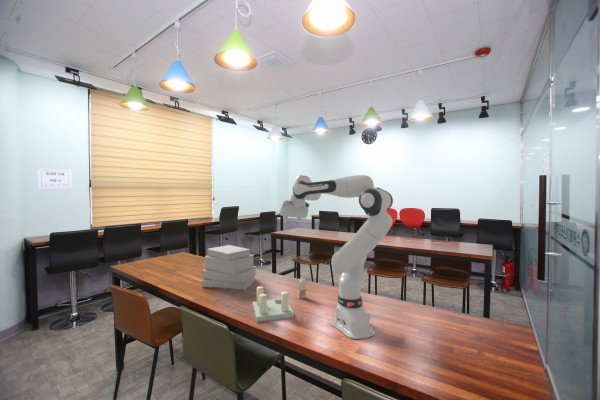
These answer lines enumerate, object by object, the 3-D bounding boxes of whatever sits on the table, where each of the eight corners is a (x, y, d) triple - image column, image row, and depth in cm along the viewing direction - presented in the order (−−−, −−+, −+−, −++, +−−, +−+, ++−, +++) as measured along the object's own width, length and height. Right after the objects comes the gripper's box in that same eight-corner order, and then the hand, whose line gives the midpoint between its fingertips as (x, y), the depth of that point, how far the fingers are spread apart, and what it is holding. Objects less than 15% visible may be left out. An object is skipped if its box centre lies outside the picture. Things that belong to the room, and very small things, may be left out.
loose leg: (306, 298, 168) (306, 279, 168) (300, 299, 167) (300, 280, 166) (304, 296, 172) (304, 277, 171) (298, 297, 171) (298, 278, 170)
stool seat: (293, 317, 143) (293, 295, 143) (256, 321, 137) (256, 299, 137) (285, 302, 162) (285, 282, 162) (252, 306, 157) (252, 286, 156)
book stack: (245, 292, 179) (244, 254, 178) (197, 289, 185) (196, 252, 184) (259, 278, 209) (259, 245, 208) (217, 275, 214) (217, 244, 214)
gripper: (287, 201, 149) (281, 224, 150) (311, 205, 163) (305, 226, 164) (280, 198, 153) (274, 221, 154) (304, 202, 168) (299, 223, 169)
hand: (291, 224), depth 159 cm, fingers open, 8 cm apart
